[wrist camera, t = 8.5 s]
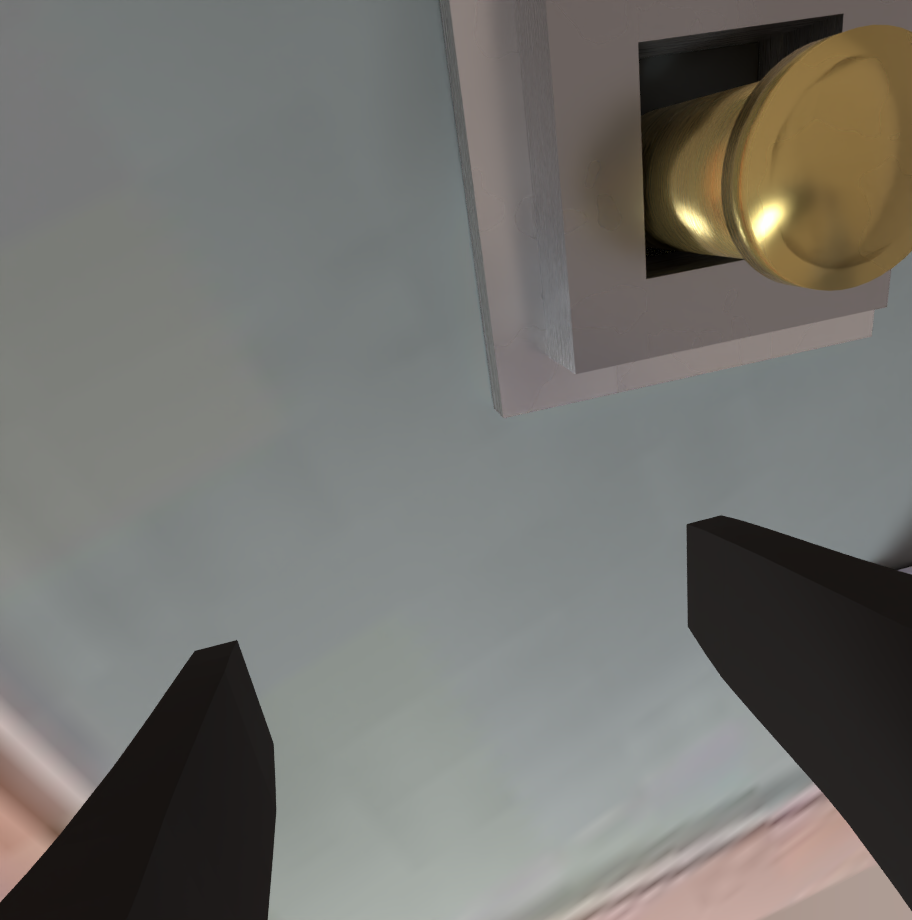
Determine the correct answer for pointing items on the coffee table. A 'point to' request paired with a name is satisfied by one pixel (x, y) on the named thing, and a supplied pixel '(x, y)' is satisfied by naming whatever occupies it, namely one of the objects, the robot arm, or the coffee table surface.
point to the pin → (792, 165)
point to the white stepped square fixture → (615, 197)
